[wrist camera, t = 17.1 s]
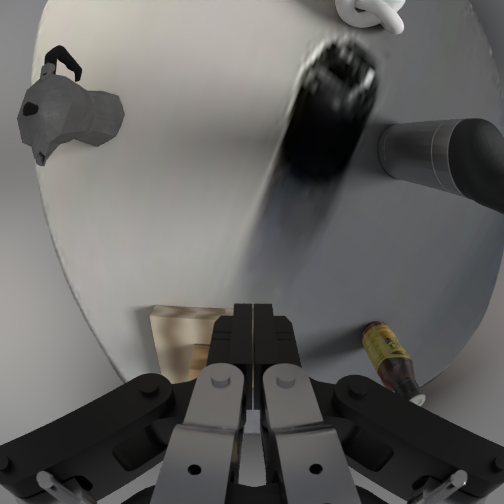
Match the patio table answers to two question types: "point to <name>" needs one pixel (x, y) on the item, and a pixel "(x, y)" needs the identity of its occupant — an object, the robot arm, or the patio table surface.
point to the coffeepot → (65, 110)
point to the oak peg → (198, 359)
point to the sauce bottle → (391, 362)
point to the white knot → (372, 13)
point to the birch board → (181, 336)
